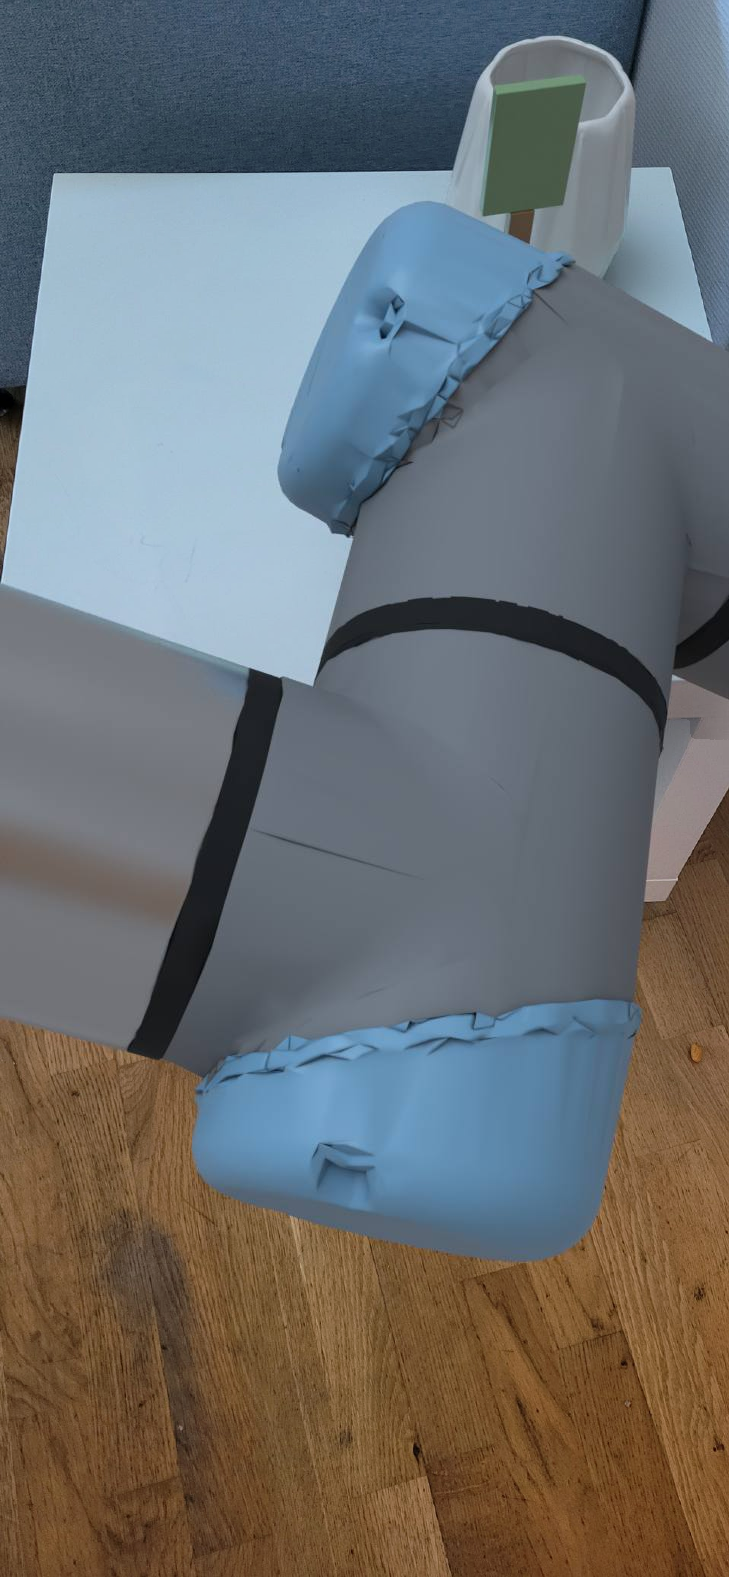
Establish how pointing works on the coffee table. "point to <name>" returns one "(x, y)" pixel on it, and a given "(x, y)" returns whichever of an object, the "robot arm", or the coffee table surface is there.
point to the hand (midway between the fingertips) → (506, 504)
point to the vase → (599, 155)
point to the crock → (530, 149)
